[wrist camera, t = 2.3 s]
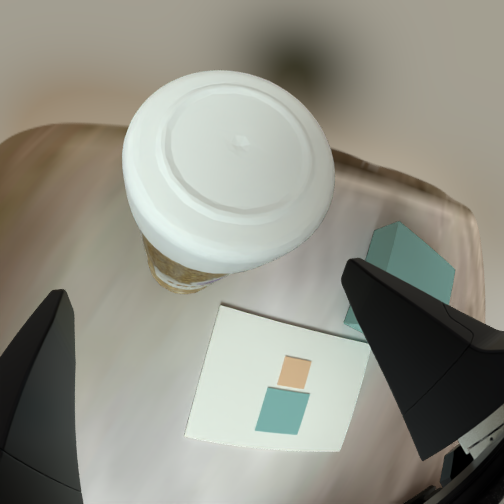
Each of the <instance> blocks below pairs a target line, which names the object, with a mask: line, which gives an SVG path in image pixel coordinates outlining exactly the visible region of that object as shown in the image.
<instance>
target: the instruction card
mask: <svg viewBox="0 0 504 504" xmlns="http://www.w3.org/2000/svg"><path fill="white" fill-rule="evenodd" d="M370 350H371V348H370V346H369V344H367V343H363V342H358V341H354V340H350V339H345V338H341V337H337V336H333V335H329V334H324V333H320V332H316V331H312V330H308V329H304V328H301V327H297V326H293V325H289V324H285V323H282V322H278V321H274V320H271V319H267V318H263V317H260V316H256V315H253V314H249V313H246V312H242V311H239V310H236V309H232V308H229V307H225V306H222V305H220V307H219V311H218V314H217V318H216V321H215V325H214V328H213V332H212V335H211V339H210V342H209V346H208V350H207V353H206V357H205V360H204V364H203V368H202V371H201V375H200V379H199V382H198V386H197V389H196V393H195V397H194V401H193V404H192V408H191V412H190V415H189V419H188V423H187V427H186V430H185V434H184V437H187V438H192V439H197V440H203V441H208V442H214V443H220V444H227V445H234V446H241V447H250V448H259V449H270V450H285V451H310V452H335V451H340V450H341V447H342V444H343V441H344V439H345V436H346V433H347V430H348V427H349V424H350V421H351V418H352V415H353V412H354V409H355V405H356V402H357V399H358V395H359V392H360V388H361V385H362V381H363V378H364V374H365V370H366V366H367V362H368V358H369V354H370Z"/></svg>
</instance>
